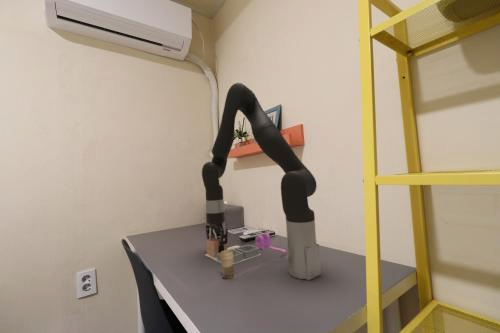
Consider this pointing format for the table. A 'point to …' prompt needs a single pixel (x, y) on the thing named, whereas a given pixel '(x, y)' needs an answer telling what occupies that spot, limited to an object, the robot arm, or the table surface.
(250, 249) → the board
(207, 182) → the robot arm
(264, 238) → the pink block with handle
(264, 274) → the table surface
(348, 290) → the table surface
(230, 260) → the peg
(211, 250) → the orange cube
